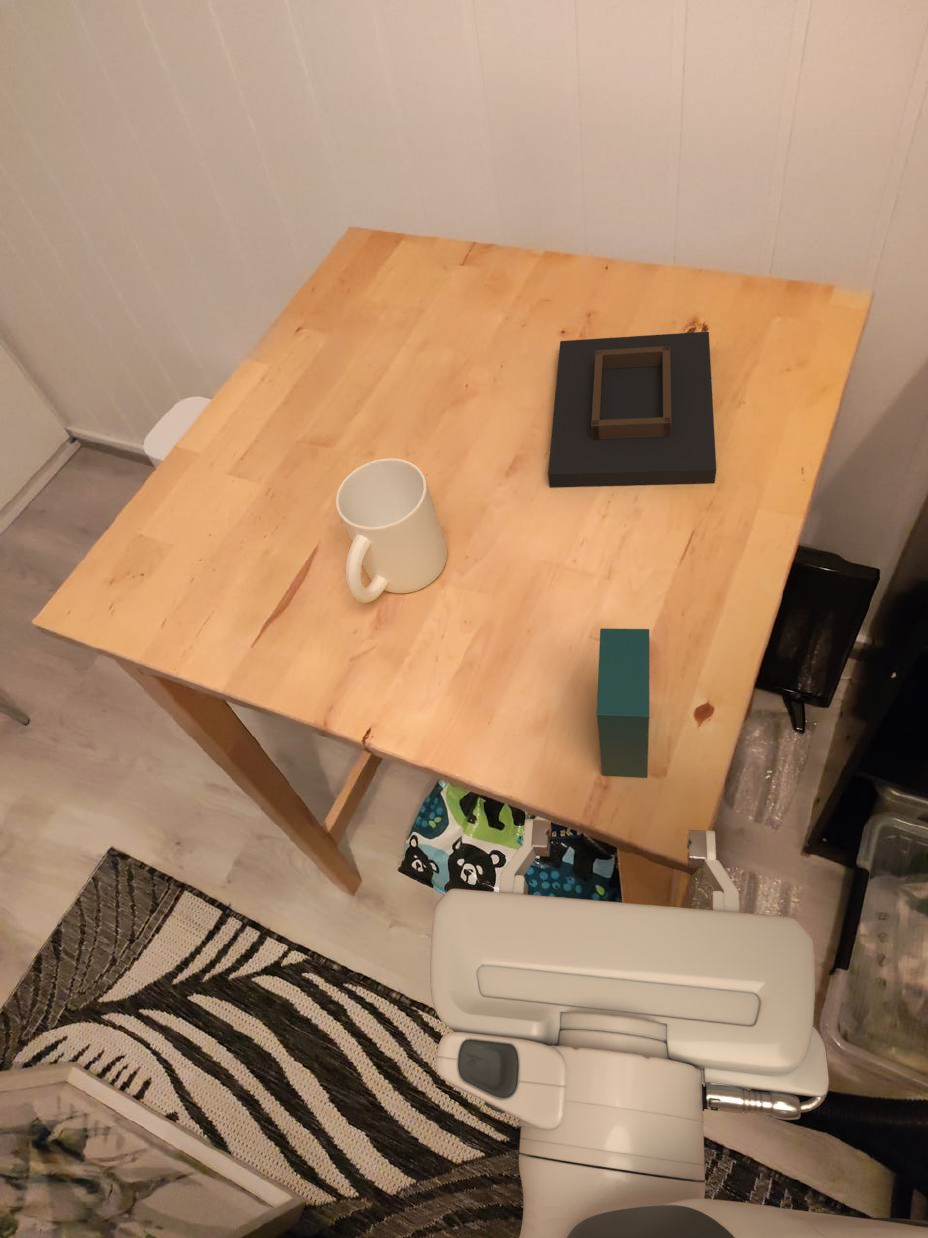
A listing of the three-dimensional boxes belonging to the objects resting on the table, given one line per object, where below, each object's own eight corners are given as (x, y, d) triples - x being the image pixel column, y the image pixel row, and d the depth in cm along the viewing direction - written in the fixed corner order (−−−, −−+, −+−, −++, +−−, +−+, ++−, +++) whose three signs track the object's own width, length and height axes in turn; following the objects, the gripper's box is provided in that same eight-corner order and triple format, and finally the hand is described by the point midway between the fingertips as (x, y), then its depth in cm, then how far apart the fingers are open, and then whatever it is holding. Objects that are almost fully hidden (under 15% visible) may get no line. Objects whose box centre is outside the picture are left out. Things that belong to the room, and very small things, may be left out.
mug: (404, 638, 75) (375, 573, 66) (332, 612, 78) (294, 546, 69) (463, 541, 80) (443, 469, 71) (393, 520, 83) (365, 449, 74)
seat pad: (707, 346, 88) (710, 315, 85) (714, 483, 78) (718, 454, 75) (561, 354, 92) (558, 325, 89) (549, 487, 81) (546, 459, 78)
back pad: (647, 698, 67) (649, 628, 58) (647, 778, 63) (649, 716, 54) (604, 697, 68) (600, 628, 59) (602, 775, 64) (596, 714, 55)
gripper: (848, 1125, 36) (815, 820, 43) (404, 1065, 40) (442, 798, 47) (821, 1128, 41) (795, 856, 48) (430, 1075, 45) (461, 833, 52)
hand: (617, 827), depth 48 cm, fingers open, 8 cm apart
